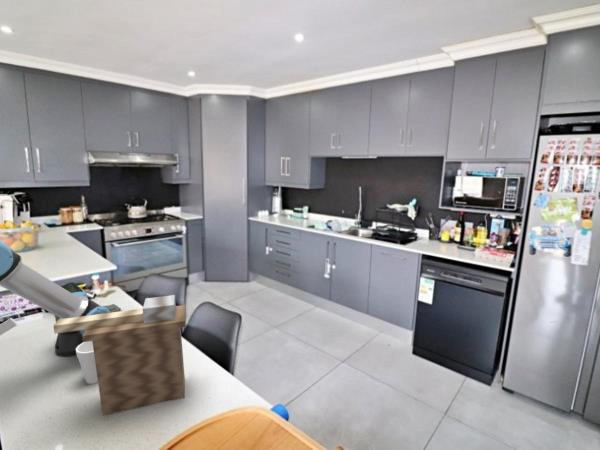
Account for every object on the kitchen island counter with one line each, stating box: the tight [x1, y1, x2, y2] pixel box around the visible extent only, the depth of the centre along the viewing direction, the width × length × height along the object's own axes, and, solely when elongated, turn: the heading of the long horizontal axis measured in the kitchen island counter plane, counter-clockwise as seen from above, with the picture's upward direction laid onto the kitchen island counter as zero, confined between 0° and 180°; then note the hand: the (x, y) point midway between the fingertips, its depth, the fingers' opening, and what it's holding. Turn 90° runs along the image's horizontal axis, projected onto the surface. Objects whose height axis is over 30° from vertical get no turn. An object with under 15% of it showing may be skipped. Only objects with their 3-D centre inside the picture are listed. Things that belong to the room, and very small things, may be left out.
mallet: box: [53, 294, 177, 335], centre depth 102 cm, size 33×8×5 cm, turn 109°
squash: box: [61, 281, 84, 293], centre depth 171 cm, size 14×15×15 cm
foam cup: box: [75, 341, 98, 385], centre depth 117 cm, size 10×9×13 cm
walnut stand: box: [82, 304, 187, 416], centre depth 107 cm, size 28×12×28 cm, turn 109°
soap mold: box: [102, 303, 122, 313], centre depth 164 cm, size 10×20×4 cm, turn 141°
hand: (2, 332), depth 91 cm, fingers open, 13 cm apart
